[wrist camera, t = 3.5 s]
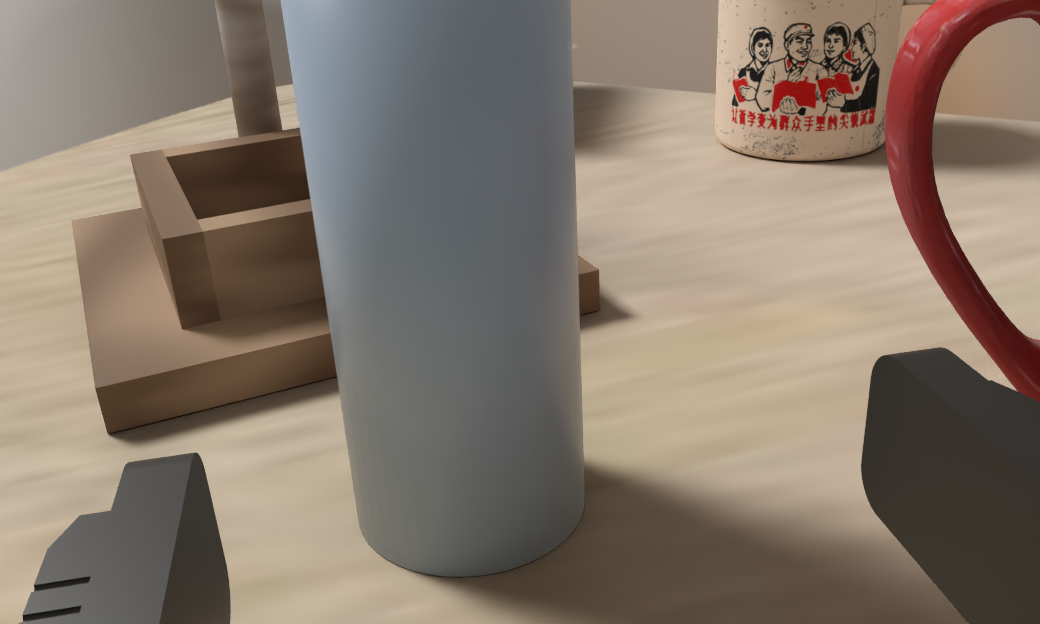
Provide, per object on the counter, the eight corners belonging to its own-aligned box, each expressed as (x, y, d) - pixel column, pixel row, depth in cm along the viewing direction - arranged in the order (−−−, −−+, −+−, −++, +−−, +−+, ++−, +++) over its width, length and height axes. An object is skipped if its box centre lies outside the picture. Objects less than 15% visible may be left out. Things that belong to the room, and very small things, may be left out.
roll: (526, 419, 28) (494, -133, 22) (627, 530, 23) (622, -134, 17) (332, 475, 26) (238, -116, 20) (400, 607, 21) (303, -112, 15)
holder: (437, 186, 47) (399, -230, 40) (599, 309, 34) (587, -281, 27) (80, 254, 42) (-43, -218, 34) (107, 433, 28) (-84, -273, 21)
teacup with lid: (707, 164, 48) (714, -93, 43) (711, 116, 56) (718, -106, 51) (970, 166, 46) (1011, -106, 41) (936, 116, 54) (966, -117, 49)
